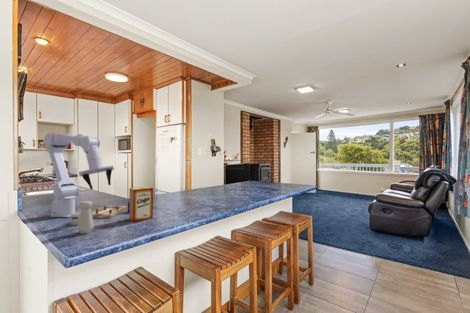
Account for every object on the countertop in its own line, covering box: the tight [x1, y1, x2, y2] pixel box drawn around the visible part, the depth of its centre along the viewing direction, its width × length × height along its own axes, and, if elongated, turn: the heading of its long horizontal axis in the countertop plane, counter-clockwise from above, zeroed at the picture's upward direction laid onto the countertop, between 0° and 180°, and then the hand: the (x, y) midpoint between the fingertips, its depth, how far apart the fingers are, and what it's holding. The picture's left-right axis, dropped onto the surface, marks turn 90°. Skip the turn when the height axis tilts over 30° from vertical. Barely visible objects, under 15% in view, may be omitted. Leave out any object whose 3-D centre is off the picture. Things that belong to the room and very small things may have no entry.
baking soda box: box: [128, 186, 154, 223], centre depth 114 cm, size 10×6×16 cm
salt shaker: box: [77, 200, 95, 235], centre depth 93 cm, size 6×6×13 cm
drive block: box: [70, 209, 93, 226], centre depth 106 cm, size 4×9×5 cm, turn 179°
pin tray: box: [92, 205, 128, 219], centre depth 122 cm, size 13×17×3 cm
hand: (100, 187), depth 108 cm, fingers open, 7 cm apart
